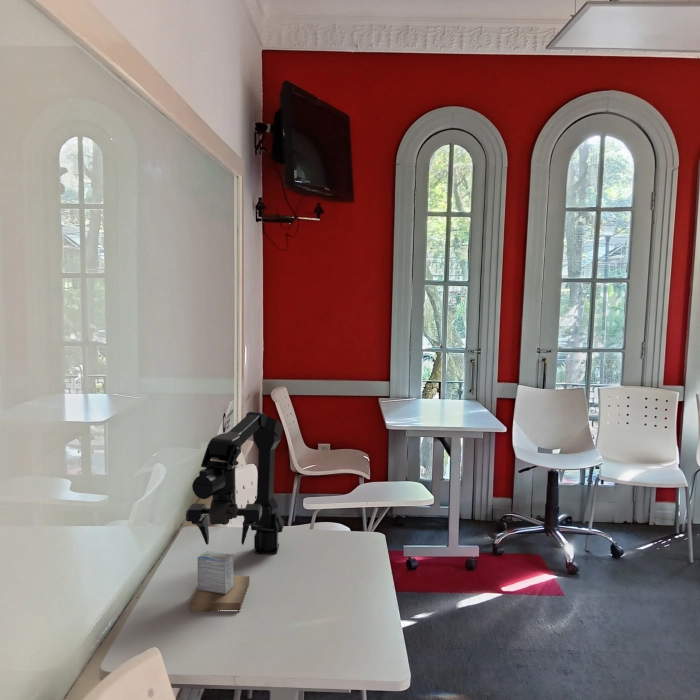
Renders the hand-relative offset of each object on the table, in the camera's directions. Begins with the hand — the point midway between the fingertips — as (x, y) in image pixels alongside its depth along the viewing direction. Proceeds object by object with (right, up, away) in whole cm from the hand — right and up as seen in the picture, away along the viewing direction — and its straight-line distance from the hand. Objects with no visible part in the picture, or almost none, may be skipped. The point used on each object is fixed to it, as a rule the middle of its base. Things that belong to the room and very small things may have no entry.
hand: (225, 544), depth 157 cm
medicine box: (-1, -10, -5) cm, 11 cm away
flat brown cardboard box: (0, -13, -5) cm, 13 cm away
